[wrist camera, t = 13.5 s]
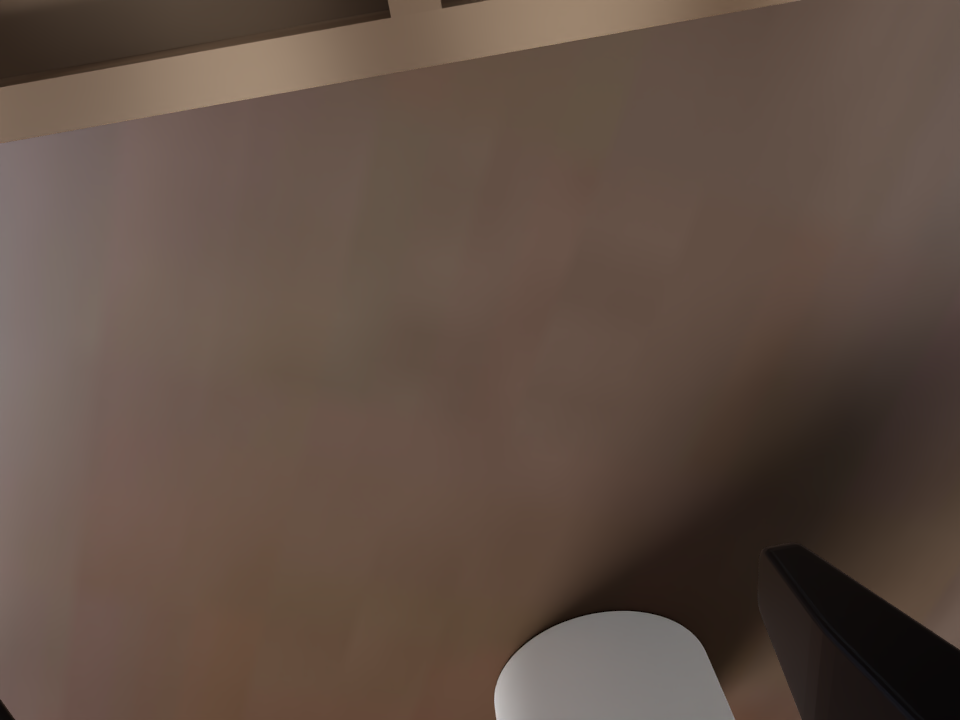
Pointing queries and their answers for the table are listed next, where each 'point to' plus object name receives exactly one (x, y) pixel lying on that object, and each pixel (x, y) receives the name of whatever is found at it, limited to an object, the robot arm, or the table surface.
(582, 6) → the bins
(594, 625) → the cup
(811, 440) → the table surface
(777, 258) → the table surface
